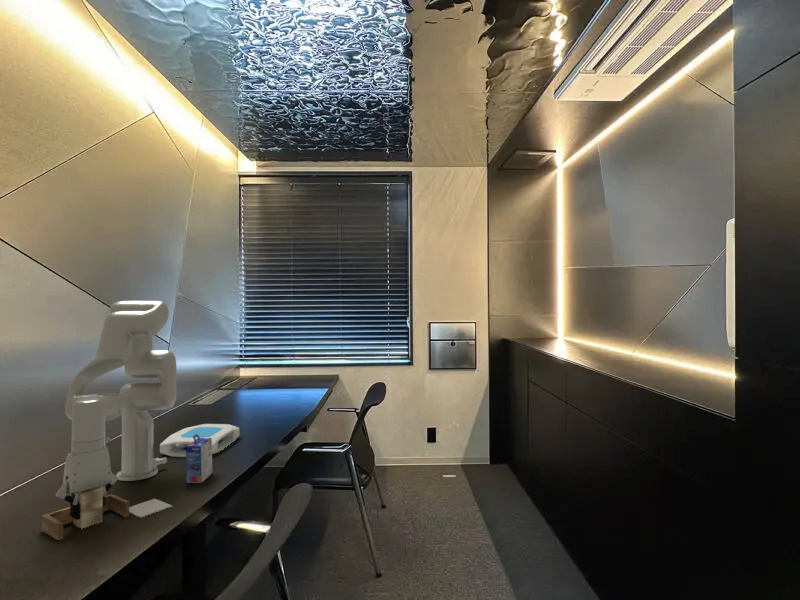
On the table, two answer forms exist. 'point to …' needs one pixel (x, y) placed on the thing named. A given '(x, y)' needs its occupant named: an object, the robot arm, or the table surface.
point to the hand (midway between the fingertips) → (87, 513)
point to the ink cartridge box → (198, 459)
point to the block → (90, 508)
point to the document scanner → (185, 437)
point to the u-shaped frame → (57, 519)
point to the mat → (148, 508)
